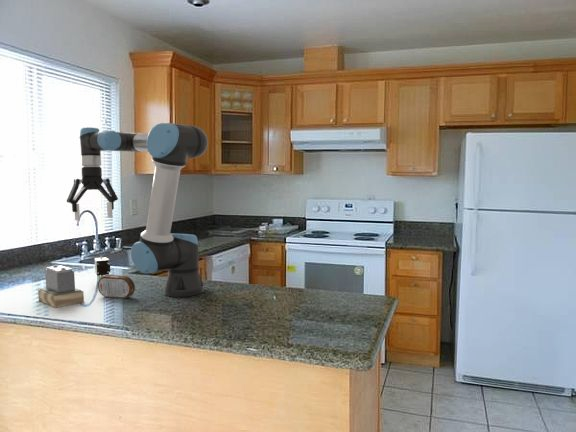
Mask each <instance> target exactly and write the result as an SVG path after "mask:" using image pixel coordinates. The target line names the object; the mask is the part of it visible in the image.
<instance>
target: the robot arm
mask: <svg viewBox="0 0 576 432" xmlns="http://www.w3.org/2000/svg"><path fill="white" fill-rule="evenodd" d="M78 138H79V147H80V148H79V149H80V165H81V168H80V169H81V179H80V178H74V179H73V185H72V188H71V190H70V192H69V194H68V197H67V199H66V202H67V203H69V204H71V207H72V208H71V211H72V212H73V213H74V220H75V221H81V216H80V215H81V214H80V204H79V201H80V200H81V198H82V197H83V196H84V195H85V193H86V192H87V191H88V190H89V191H90V190H91V191H92V190H93V191H94V190H95V191H96V190H98V191H99V192H100V193H101V195H102V196H103V197H104V198H105V199H106V200H107V202H106V209H107V210H106V212H107V219H112V218H113V210H114V209H115V208H114V205H115V203H114V202H115V201H118V200H119V197H118V196H117V194H116V192H115V190H114V188H113V186H112V184H111V180H110V178H102V174H103V173H102V167H101V166H102V154H101V152H104V151H105V152H108V151H109V152H110V151H111V152H131V153H142V152H143V153H145V152H146V153H149V155H150V156H151V161H152V162H153V164H154V165H155V167H154V172H153V173H154V174H153V179H152V186H151V193H150V199H149V205H148V206H149V207H148V213H147V220H146V227H145V229H144V231H142V232H140V237H139V241H136V242H134V244H132V246H131V249H130V257H131V261H132V263H133V265H134V267H135V268H136V269H137V270H138V271H139V272H140V273H142V274H154V273H157V272H163V271H166V270H167V271H168V272H167V278H166V281H165V285H164V288H163V289H164V290H163V291H164V295H165V296H168V297H174V298H180V297H181V298H182V297H183V298H185V297H193V296H198V295H201V294H203V293H204V292H205V286H204V282H203V279H202V277H201V274H200V267H199V242H198V241H199V240H198V237H197V235H195V234H191V233H190V234H189V233H173V232H172V231H171V230H172V225H173V217H174V212H175V208H176V207H175V206H176V201H177V194H178V193H177V192H178V187H179V181H180V175H181V170H182V169H183V168H185V167H186V166H187V159H195V158H199V157H201V156H202V155H204V154H205V153H206V151H207V150H208V146H209V138H208V136H207V134H206V133H205V131H204V130H203V129H202V128H200V127H199V126H197V125H192V124H191V125H190V124H189V125H188V124H179V123H172V122H167V123H166V122H161V123H157V124H155V126H154V127H153V126H152V128H150V131H149V132H121V131H120V132H119V131H115V130H109V129H108V130H107V129H105V130H103V131H102V130H101V131H100V129H99V128H97V127H81V128H79V137H78ZM81 184H82V187H81V188H80V190H79V191H78V189H79V187H80V186H81ZM103 184H104V186H105V187H104V186H103ZM105 188H106V189H107V190H106V189H105ZM77 191H78V193H77ZM76 193H77V194H76ZM171 232H172V233H171Z"/></svg>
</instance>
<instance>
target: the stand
mask: <svg viewBox="0 0 576 432" xmlns="http://www.w3.org/2000/svg"><path fill="white" fill-rule="evenodd" d="M37 293H38V301H39V302H42V303H44V304H46V305H48V306H51V307H53V308H55V309H56V308H61V307H66V306H71V305H77V304H81V303H85V297H84V296H85V295H84V294H85V293H84V291H83V290H81V289H79V288H77V287H75V291H69V292H63V293H56V292H53V291H51V290H49V289H46V287H42V288H39V289H38V290H37Z"/></svg>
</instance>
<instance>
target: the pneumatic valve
mask: <svg viewBox="0 0 576 432" xmlns="http://www.w3.org/2000/svg"><path fill="white" fill-rule="evenodd" d="M109 262H110V258H107V257H106V256H105V257H103V256H99V257H94V270H95V271H94V272H95V274H96V275H97V280H98V281H99V280H100V279H101V278H102V277H104V276H106V275H110V272H111V264H110V263H109ZM98 281H97V282H98Z"/></svg>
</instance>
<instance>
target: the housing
mask: <svg viewBox="0 0 576 432" xmlns="http://www.w3.org/2000/svg"><path fill="white" fill-rule="evenodd" d="M44 273H45V288H46V289H49V290H51V291H53V292H56V293H63V292H69V291H75V288H76V283H75V282H76V281H75V280H76V279H75V271H74V270H73V268H72V267H68V266H64V265H58V264H54V265H52V266H47V267H46V269H44Z"/></svg>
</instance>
